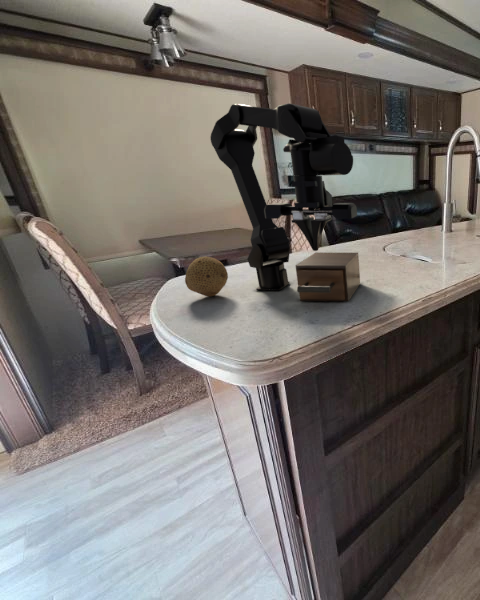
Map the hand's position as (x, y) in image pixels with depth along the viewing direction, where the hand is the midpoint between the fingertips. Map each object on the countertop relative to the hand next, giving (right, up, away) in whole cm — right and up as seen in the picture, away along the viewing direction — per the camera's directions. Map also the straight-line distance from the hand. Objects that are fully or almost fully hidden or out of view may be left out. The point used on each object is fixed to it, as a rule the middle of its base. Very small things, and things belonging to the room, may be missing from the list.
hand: (315, 250), depth 71 cm
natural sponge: (-28, -11, +7) cm, 30 cm away
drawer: (+1, -10, +5) cm, 11 cm away
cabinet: (+2, -9, +9) cm, 13 cm away
